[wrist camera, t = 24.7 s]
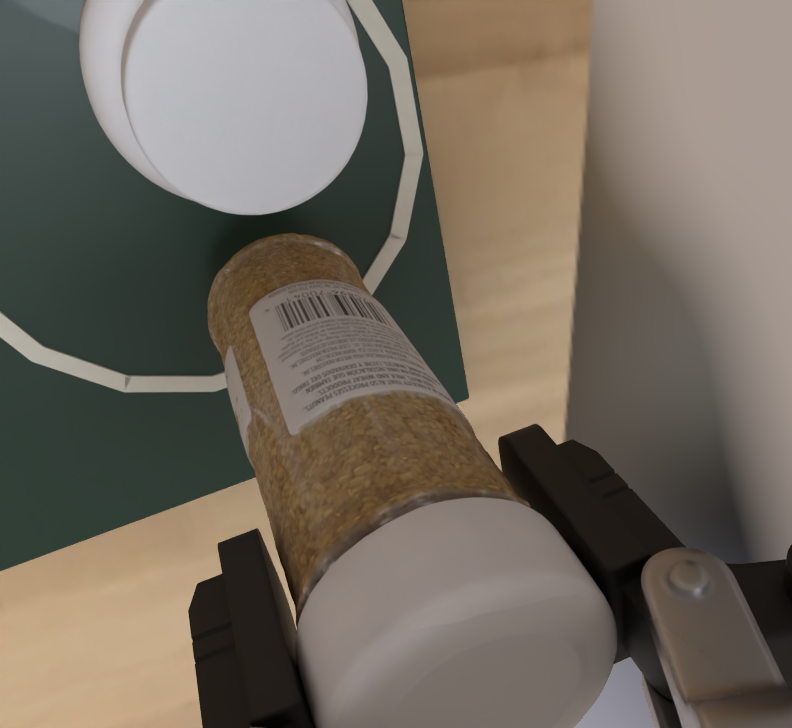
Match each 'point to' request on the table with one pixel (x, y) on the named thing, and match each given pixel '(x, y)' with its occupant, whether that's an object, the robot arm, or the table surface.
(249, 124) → the supplement bottle
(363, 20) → the chalkboard
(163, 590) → the table surface
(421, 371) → the spice jar
